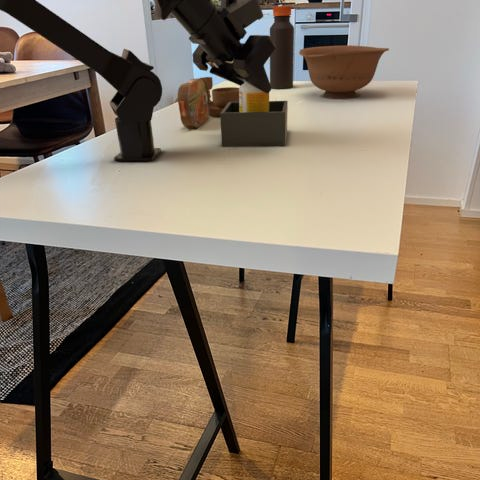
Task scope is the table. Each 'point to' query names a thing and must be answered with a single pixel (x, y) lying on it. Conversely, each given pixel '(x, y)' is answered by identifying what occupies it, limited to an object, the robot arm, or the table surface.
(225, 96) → the place setting
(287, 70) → the brown bottle
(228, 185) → the table surface
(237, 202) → the table surface
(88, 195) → the table surface
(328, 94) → the bowl
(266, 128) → the bin
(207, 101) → the tin
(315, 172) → the table surface
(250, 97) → the supplement bottle
